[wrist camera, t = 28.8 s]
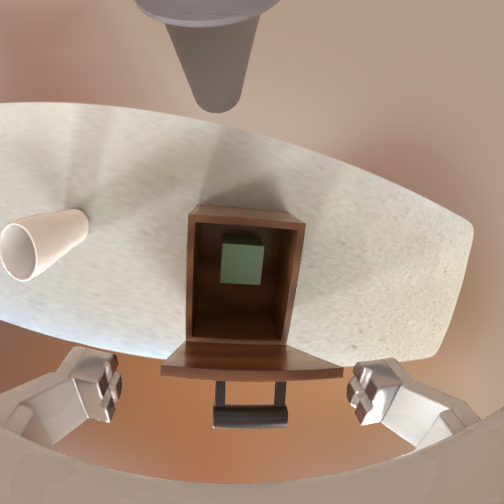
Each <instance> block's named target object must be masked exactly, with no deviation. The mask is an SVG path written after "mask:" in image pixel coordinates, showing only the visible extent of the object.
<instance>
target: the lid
mask: <svg viewBox="0 0 504 504" xmlns="http://www.w3.org/2000/svg"><path fill="white" fill-rule="evenodd" d="M160 368H161V369H160V370H161V371H160V375H161V376H166V377H176V378H187V379H199V380H214V381H216V389H215V390H216V391H215V404H213V428H222V429H263V428H264V429H267V428H285V427H286V426H287V422H288V411H287V407H286V405H285V394H286V381H307V380H322V379H335V378H343V369H344V368H343V367H341V366H338V365H335V364H333V363H330V362H328V361H325V360H323V359H320V358H318V357H315V356H313V355H310V354H308V353H305V352H303V351H300V350H298V349H296V348H293V347H291V346H289V345H266V344H233V343H213V342H199V341H185V342H184V343H183V344H182V345H181V346H180V347H179V348H178V349H177V350H176V351H175V352H173V353H172V354H171V355H170V356H169V357H168V358H167V359H166V360H165V361H164V362H163V363H162V364H161V367H160ZM225 381H239V382H240V381H241V382H275V398H274V404H269V405H268V404H264V405H237V404H225Z"/></svg>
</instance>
